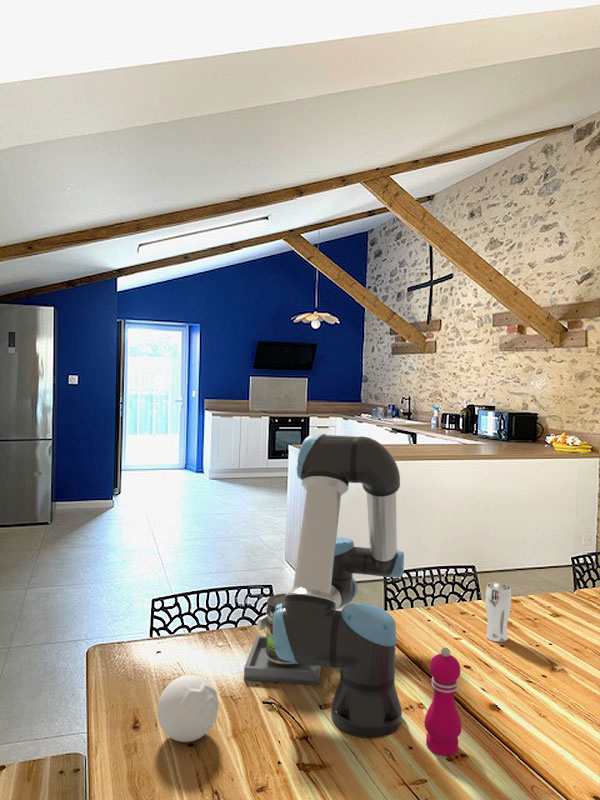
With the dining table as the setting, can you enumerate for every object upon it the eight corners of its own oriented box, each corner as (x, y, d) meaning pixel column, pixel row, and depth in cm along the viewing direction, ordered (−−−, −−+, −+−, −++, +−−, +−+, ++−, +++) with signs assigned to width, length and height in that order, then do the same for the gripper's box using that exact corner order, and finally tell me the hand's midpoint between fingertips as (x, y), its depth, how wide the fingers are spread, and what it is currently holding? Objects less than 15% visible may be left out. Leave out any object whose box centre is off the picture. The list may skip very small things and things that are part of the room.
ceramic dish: (318, 685, 142) (319, 672, 142) (243, 679, 144) (244, 667, 144) (322, 651, 160) (323, 640, 160) (256, 646, 162) (256, 635, 161)
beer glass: (512, 636, 172) (514, 585, 172) (506, 645, 166) (508, 592, 166) (487, 630, 176) (489, 580, 176) (481, 639, 170) (483, 587, 170)
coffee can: (286, 669, 144) (288, 611, 144) (257, 655, 151) (258, 600, 151) (314, 655, 152) (316, 600, 151) (285, 642, 159) (287, 590, 158)
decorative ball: (180, 764, 112) (181, 701, 112) (145, 736, 120) (146, 678, 120) (229, 737, 121) (231, 679, 120) (193, 713, 129) (194, 658, 128)
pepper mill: (461, 760, 115) (465, 658, 115) (423, 754, 117) (427, 653, 116) (459, 738, 123) (463, 642, 122) (423, 733, 124) (427, 638, 123)
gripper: (358, 625, 161) (315, 657, 142) (288, 606, 173) (240, 633, 154) (359, 598, 160) (316, 626, 142) (288, 580, 172) (241, 604, 154)
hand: (277, 629), depth 148 cm, fingers closed on coffee can, 10 cm apart
